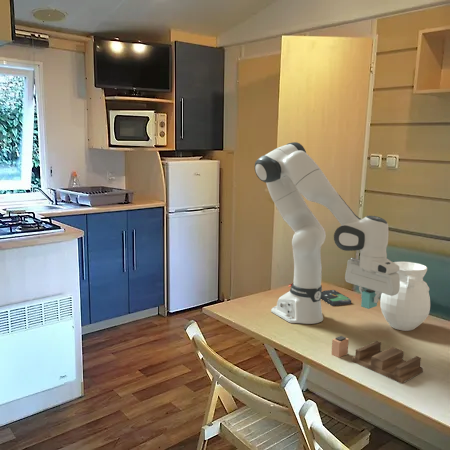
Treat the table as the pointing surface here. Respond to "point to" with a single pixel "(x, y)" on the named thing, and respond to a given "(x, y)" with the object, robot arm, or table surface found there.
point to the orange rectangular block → (340, 346)
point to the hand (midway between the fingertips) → (369, 300)
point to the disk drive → (334, 298)
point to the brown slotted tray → (388, 362)
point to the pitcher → (407, 298)
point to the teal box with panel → (368, 299)
